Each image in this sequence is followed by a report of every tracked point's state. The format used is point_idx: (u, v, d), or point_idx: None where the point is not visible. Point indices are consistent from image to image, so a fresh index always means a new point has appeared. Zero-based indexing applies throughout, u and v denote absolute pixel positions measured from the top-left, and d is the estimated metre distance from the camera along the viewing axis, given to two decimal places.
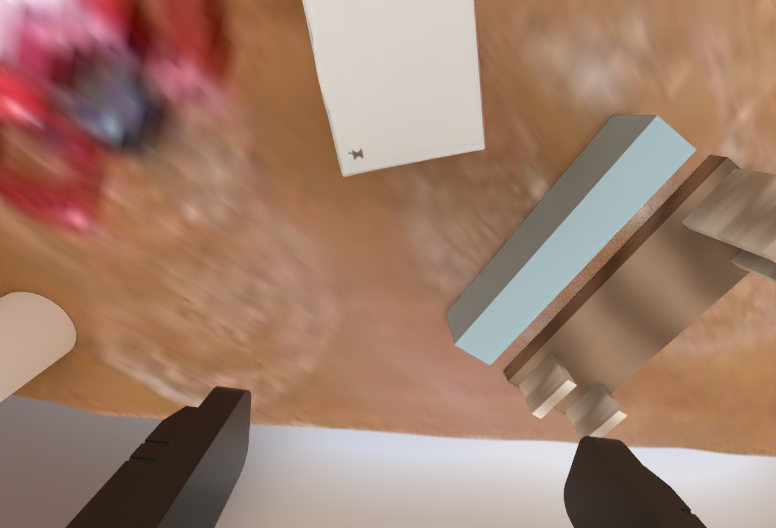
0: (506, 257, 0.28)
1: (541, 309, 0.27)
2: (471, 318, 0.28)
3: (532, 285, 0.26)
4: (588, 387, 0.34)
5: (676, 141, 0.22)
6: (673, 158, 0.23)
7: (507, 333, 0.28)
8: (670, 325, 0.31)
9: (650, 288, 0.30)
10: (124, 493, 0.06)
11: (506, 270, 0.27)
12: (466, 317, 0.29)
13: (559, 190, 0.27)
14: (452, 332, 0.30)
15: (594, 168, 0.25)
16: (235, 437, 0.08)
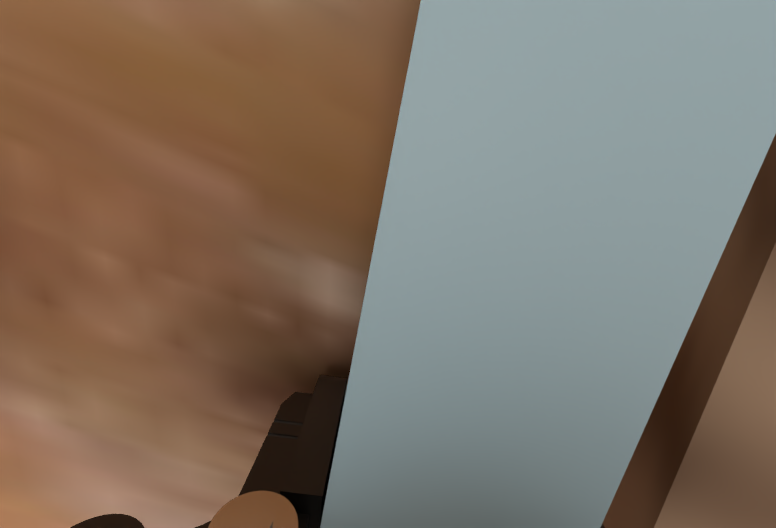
0: None
1: None
2: None
3: None
4: None
5: None
6: None
7: None
8: None
9: None
10: (277, 461, 0.07)
11: None
12: None
13: None
14: None
15: None
16: (340, 419, 0.09)
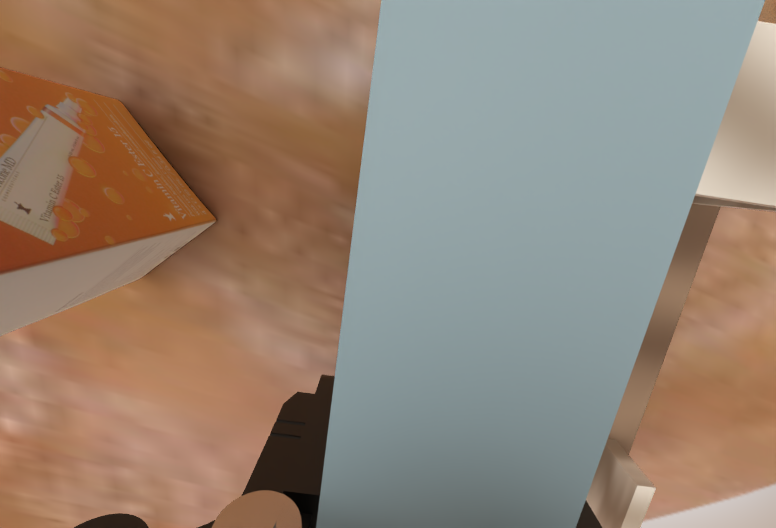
0: None
1: None
2: None
3: None
4: None
5: None
6: None
7: None
8: (654, 322, 0.20)
9: None
10: (279, 461, 0.07)
11: None
12: None
13: None
14: None
15: None
16: None
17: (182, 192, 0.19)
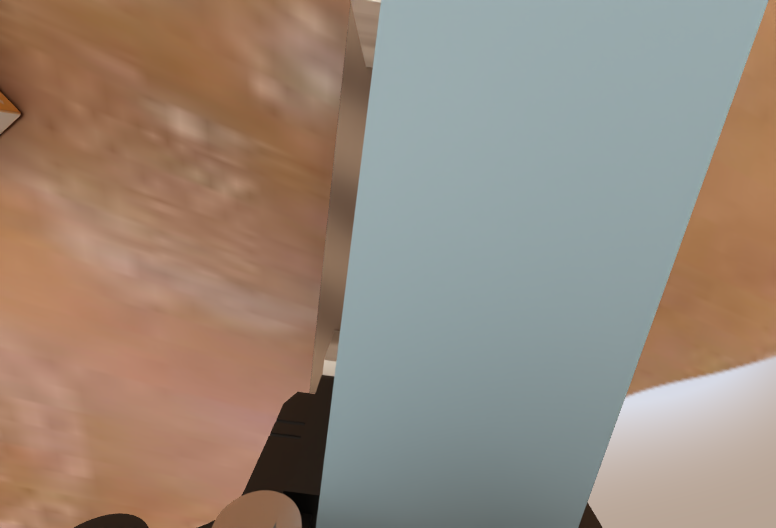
0: None
1: None
2: None
3: None
4: None
5: None
6: None
7: None
8: None
9: None
10: (279, 462, 0.07)
11: None
12: None
13: None
14: None
15: None
16: None
17: None
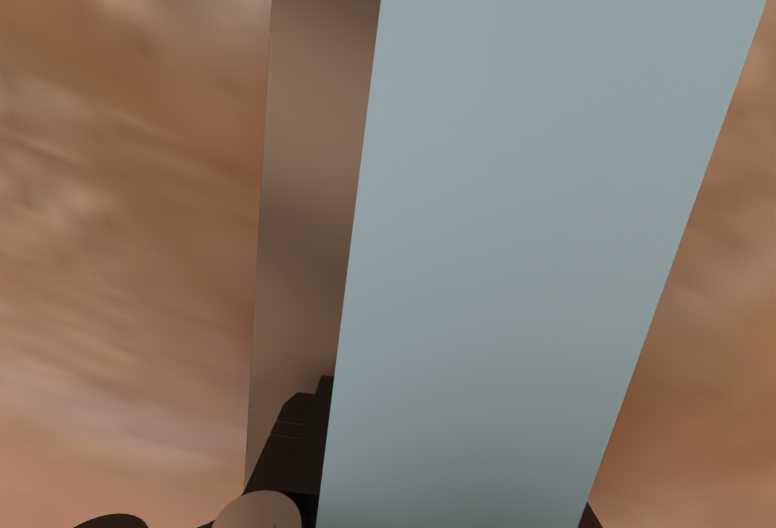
0: None
1: None
2: None
3: None
4: None
5: None
6: None
7: None
8: None
9: None
10: (279, 461, 0.07)
11: None
12: None
13: None
14: None
15: None
16: None
17: None
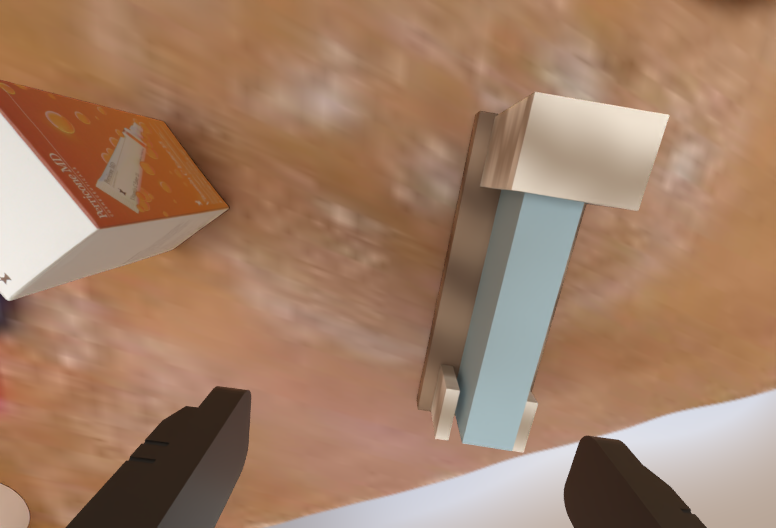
0: (477, 329, 0.27)
1: (532, 374, 0.24)
2: (467, 408, 0.26)
3: (507, 354, 0.24)
4: None
5: None
6: None
7: (511, 411, 0.25)
8: None
9: None
10: (124, 493, 0.06)
11: (479, 346, 0.25)
12: (464, 406, 0.27)
13: (494, 246, 0.26)
14: (459, 426, 0.27)
15: (510, 218, 0.23)
16: (235, 437, 0.08)
17: (206, 187, 0.27)
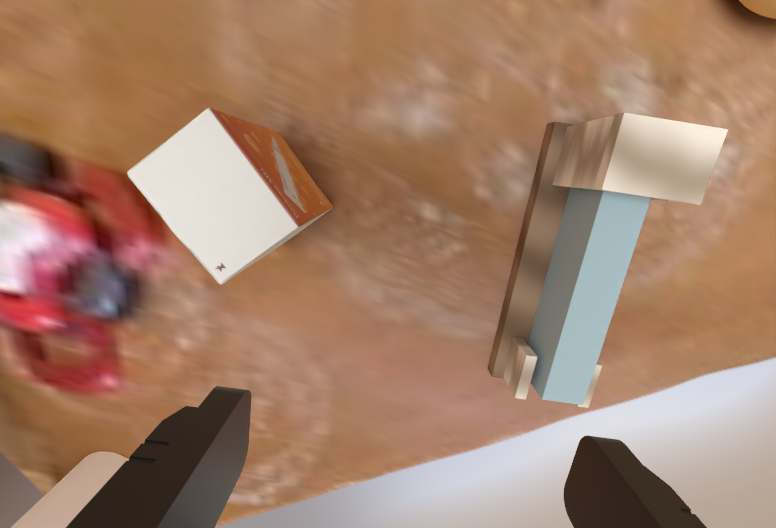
0: (550, 305, 0.32)
1: (602, 339, 0.29)
2: (545, 371, 0.31)
3: (583, 323, 0.29)
4: None
5: None
6: None
7: (583, 371, 0.30)
8: None
9: None
10: (124, 493, 0.06)
11: (555, 318, 0.30)
12: (540, 370, 0.32)
13: (566, 235, 0.31)
14: (535, 387, 0.32)
15: (585, 211, 0.28)
16: (235, 437, 0.08)
17: (318, 189, 0.32)
